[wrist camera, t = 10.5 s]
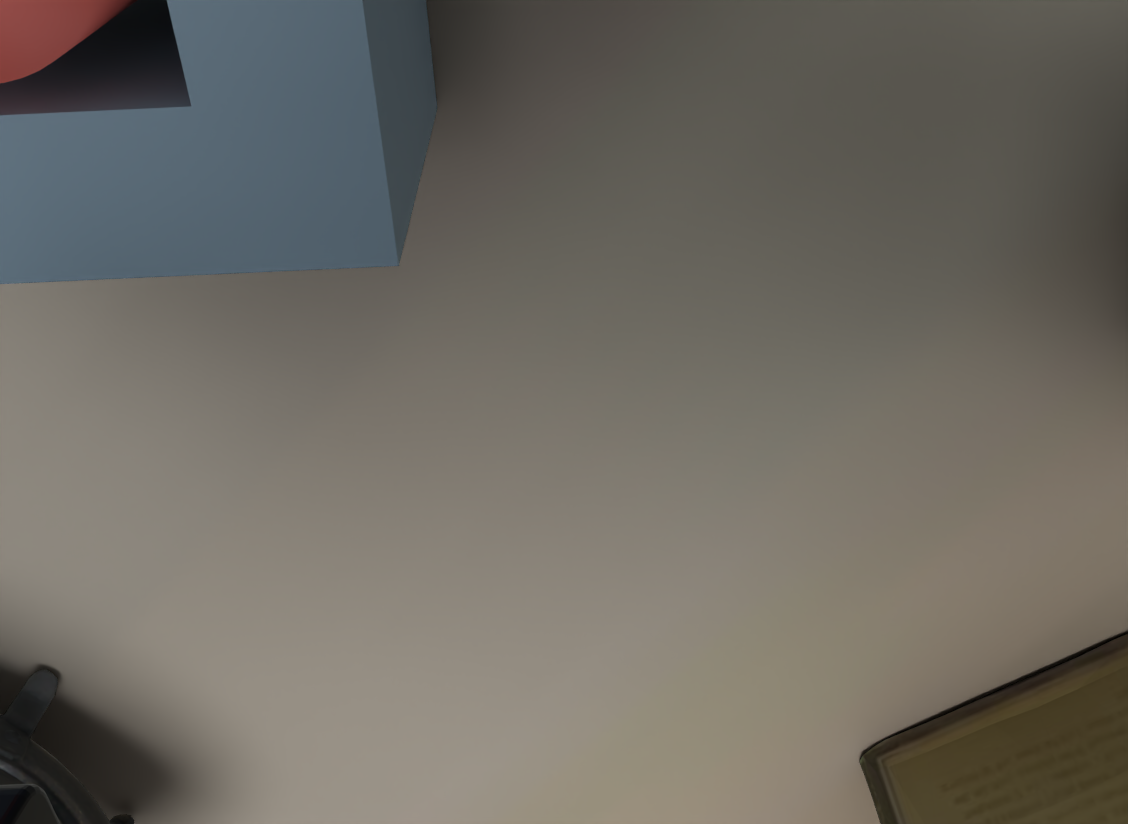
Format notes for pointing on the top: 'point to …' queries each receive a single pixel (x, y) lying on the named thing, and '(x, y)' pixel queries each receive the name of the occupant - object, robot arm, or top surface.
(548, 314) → the top surface
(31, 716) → the alarm clock
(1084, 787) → the food packaging
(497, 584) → the top surface
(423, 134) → the blue button housing
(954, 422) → the top surface
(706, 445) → the top surface
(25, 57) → the button
